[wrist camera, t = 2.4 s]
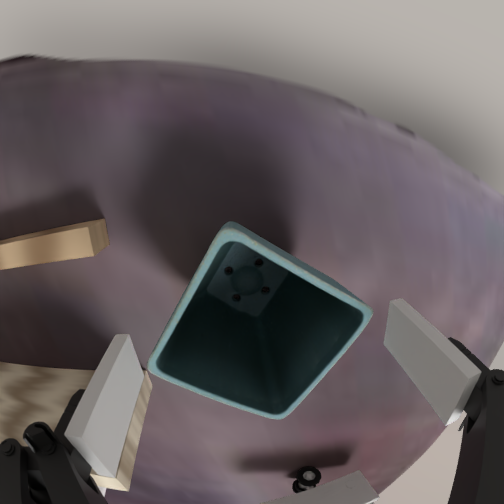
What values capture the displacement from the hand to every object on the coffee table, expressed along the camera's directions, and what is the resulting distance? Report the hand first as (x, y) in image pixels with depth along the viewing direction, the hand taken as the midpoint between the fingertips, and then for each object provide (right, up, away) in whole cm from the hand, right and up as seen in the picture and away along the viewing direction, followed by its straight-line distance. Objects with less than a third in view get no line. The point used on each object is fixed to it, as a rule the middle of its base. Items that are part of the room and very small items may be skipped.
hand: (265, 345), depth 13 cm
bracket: (+15, -28, +16) cm, 36 cm away
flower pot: (-1, +2, +9) cm, 9 cm away
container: (-26, -21, +14) cm, 36 cm away
